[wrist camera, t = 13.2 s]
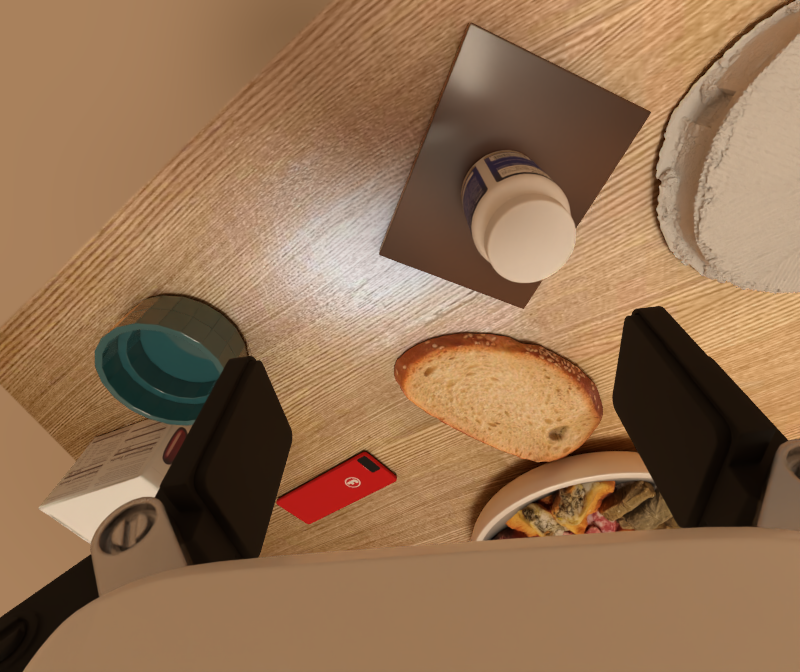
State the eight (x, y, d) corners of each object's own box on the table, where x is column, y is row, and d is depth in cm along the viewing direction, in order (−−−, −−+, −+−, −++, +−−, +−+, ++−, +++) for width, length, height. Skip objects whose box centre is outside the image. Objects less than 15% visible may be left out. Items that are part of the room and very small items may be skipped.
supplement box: (274, 496, 54) (251, 572, 47) (191, 519, 58) (156, 593, 50) (185, 403, 46) (138, 477, 38) (93, 436, 49) (33, 511, 41)
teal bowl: (129, 275, 37) (93, 304, 33) (258, 318, 39) (240, 350, 35) (125, 369, 43) (95, 404, 39) (238, 402, 45) (220, 438, 41)
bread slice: (382, 352, 41) (379, 377, 38) (577, 292, 37) (592, 315, 34) (443, 469, 50) (445, 497, 47) (605, 431, 46) (619, 460, 43)
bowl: (702, 399, 43) (753, 463, 37) (729, 551, 58) (769, 615, 51) (428, 481, 52) (430, 545, 45) (512, 595, 66) (523, 655, 60)
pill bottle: (493, 244, 34) (518, 310, 25) (444, 190, 31) (453, 244, 23) (557, 191, 31) (608, 245, 23) (508, 128, 29) (545, 164, 21)
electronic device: (309, 521, 57) (398, 476, 51) (308, 525, 56) (398, 480, 51) (275, 499, 54) (365, 449, 49) (274, 503, 54) (364, 453, 48)
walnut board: (468, 22, 27) (470, 21, 26) (643, 110, 29) (651, 112, 28) (379, 249, 35) (378, 255, 34) (521, 302, 38) (523, 309, 37)
